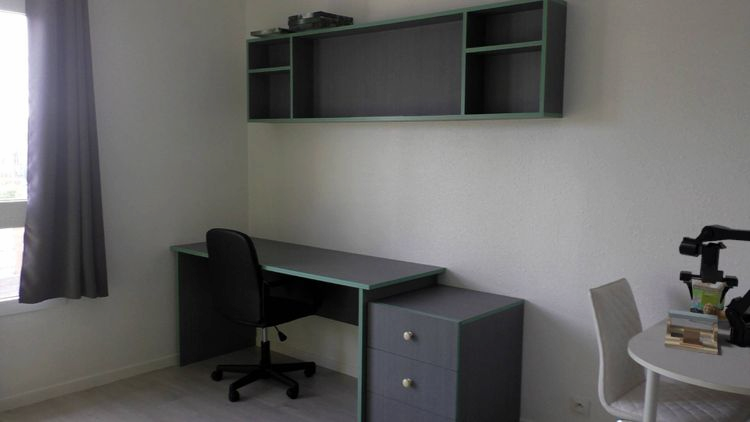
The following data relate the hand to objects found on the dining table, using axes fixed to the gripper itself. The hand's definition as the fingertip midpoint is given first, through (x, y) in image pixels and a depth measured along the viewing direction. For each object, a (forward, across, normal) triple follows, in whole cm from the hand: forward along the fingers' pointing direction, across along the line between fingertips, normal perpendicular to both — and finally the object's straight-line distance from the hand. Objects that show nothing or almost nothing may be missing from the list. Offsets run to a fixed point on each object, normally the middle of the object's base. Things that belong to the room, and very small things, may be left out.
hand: (706, 301), depth 233 cm
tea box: (+12, +2, +22) cm, 26 cm away
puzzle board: (+12, -4, -10) cm, 16 cm away
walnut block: (+10, -4, -19) cm, 22 cm away
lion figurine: (+12, +7, +12) cm, 18 cm away
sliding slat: (+7, -4, +1) cm, 8 cm away
